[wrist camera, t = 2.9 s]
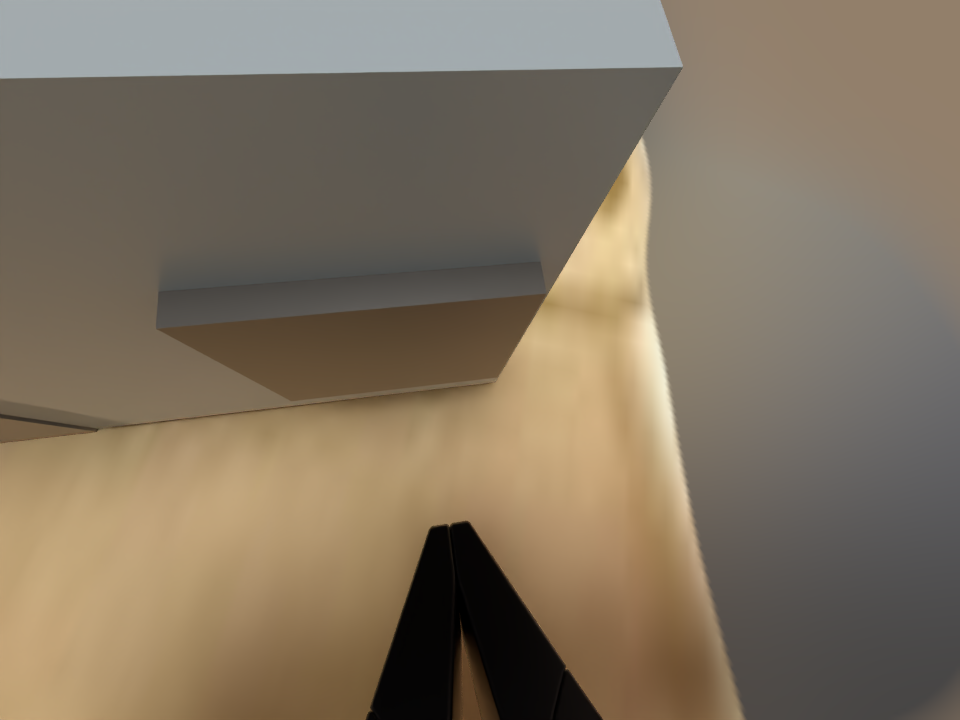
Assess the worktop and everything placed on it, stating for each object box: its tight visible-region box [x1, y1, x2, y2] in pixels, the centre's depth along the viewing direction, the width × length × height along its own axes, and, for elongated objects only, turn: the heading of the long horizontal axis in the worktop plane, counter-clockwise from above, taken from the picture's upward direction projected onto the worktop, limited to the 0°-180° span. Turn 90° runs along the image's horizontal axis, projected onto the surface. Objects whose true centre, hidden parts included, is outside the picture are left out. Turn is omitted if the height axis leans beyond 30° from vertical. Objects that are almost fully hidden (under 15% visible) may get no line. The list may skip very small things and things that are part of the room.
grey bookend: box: [0, 0, 683, 429], centre depth 10 cm, size 12×14×13 cm
